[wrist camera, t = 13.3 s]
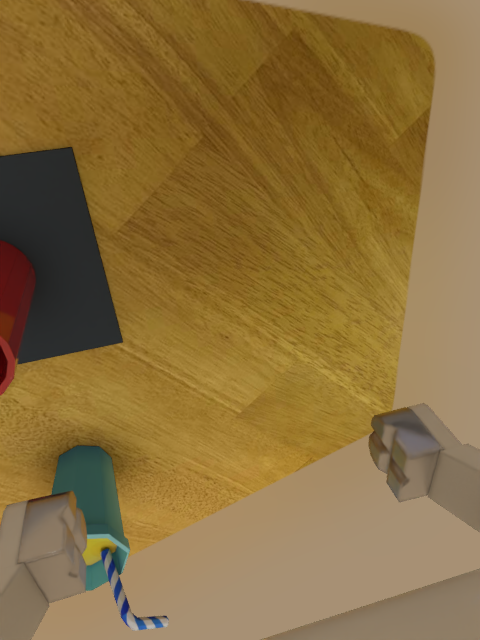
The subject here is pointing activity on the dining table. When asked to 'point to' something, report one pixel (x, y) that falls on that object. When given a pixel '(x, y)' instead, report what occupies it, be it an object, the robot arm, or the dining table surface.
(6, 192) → the corner mat
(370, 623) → the robot arm
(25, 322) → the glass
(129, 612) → the cup
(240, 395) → the dining table surface
